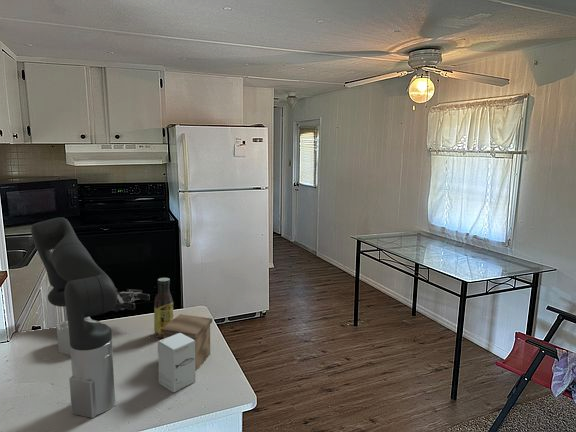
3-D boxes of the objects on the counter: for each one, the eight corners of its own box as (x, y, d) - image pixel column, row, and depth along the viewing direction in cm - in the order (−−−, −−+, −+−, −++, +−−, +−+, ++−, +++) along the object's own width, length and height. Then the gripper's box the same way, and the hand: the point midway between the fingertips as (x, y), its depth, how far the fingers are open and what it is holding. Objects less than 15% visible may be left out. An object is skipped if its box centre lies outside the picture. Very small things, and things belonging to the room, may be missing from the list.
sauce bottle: (161, 340, 137) (160, 284, 134) (150, 335, 141) (148, 279, 137) (177, 333, 142) (176, 279, 139) (166, 328, 146) (165, 275, 142)
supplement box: (173, 393, 109) (172, 349, 106) (158, 382, 113) (156, 340, 111) (196, 382, 114) (195, 340, 112) (180, 372, 119) (179, 331, 117)
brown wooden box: (196, 372, 119) (195, 334, 116) (162, 366, 121) (161, 329, 119) (212, 354, 129) (212, 318, 127) (181, 349, 132) (180, 314, 130)
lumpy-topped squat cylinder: (83, 357, 126) (81, 330, 124) (49, 350, 129) (46, 325, 128) (106, 341, 136) (105, 317, 134) (74, 336, 139) (72, 312, 137)
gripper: (86, 293, 138) (129, 299, 134) (114, 280, 151) (153, 284, 148) (88, 314, 139) (130, 320, 135) (115, 299, 153) (154, 304, 149)
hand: (142, 301), depth 141 cm, fingers open, 8 cm apart
